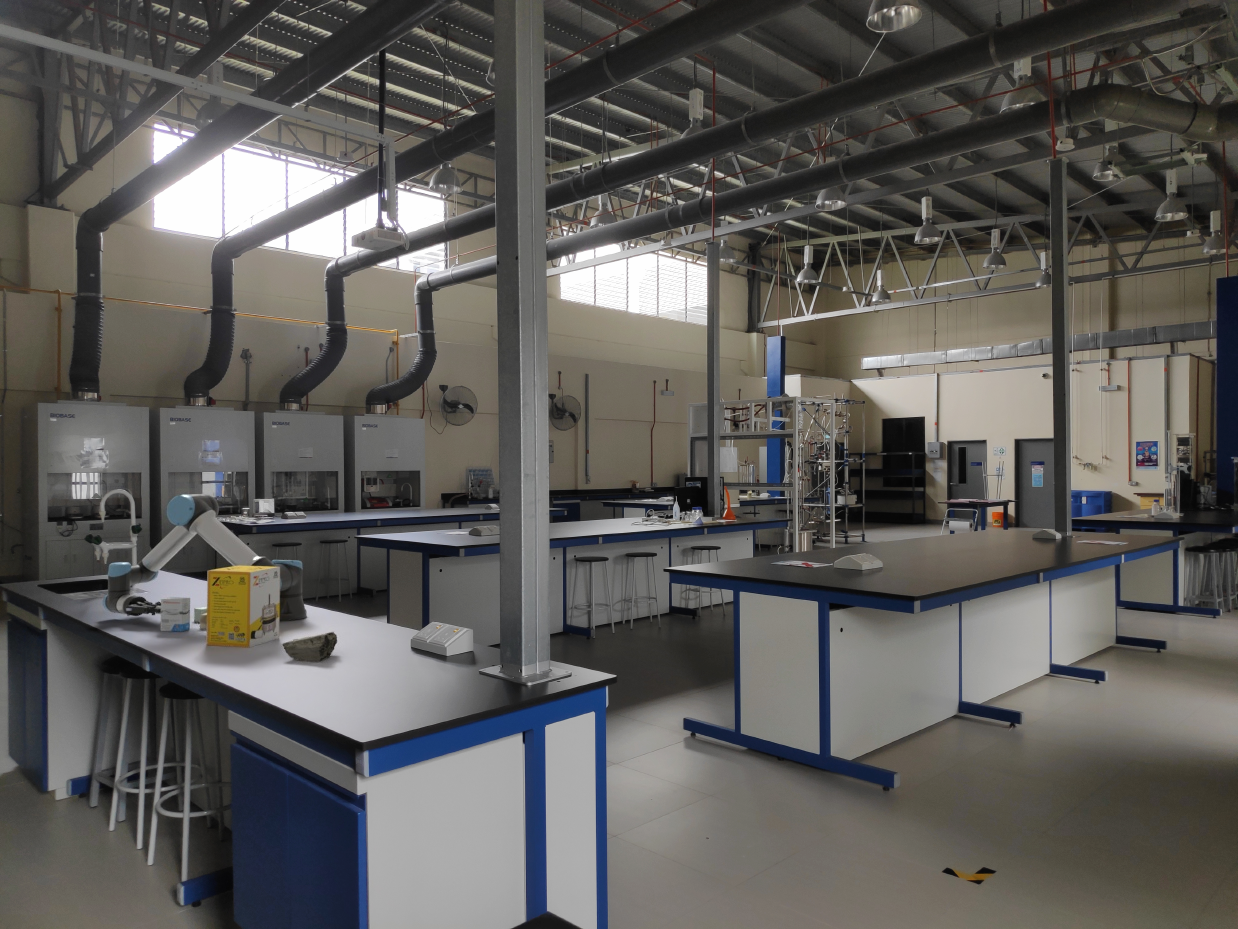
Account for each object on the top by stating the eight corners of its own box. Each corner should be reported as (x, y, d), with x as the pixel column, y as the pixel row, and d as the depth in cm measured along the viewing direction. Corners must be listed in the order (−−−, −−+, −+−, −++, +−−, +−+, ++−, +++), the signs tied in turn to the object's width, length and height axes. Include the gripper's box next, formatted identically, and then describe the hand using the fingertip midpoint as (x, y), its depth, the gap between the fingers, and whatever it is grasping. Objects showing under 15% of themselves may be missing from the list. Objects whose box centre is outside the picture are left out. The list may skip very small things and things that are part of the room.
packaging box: (238, 635, 287) (239, 565, 288) (279, 638, 284) (280, 566, 284) (206, 645, 271) (207, 570, 272) (249, 647, 268) (250, 572, 268)
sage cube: (213, 620, 316) (213, 607, 316) (201, 622, 312) (201, 609, 312) (206, 619, 319) (206, 606, 319) (194, 621, 315) (194, 608, 315)
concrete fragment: (275, 654, 248) (295, 619, 260) (293, 677, 253) (312, 641, 266) (316, 645, 244) (334, 611, 257) (333, 669, 250) (350, 633, 262)
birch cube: (220, 626, 305) (220, 613, 305) (213, 628, 300) (213, 615, 300) (207, 626, 305) (207, 612, 305) (199, 628, 300) (200, 615, 300)
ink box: (190, 629, 298) (191, 597, 298) (182, 631, 293) (182, 599, 293) (168, 628, 299) (169, 596, 299) (159, 631, 294) (160, 598, 294)
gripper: (149, 612, 316) (184, 618, 304) (114, 617, 305) (149, 624, 293) (149, 593, 316) (185, 598, 304) (115, 597, 305) (150, 603, 293)
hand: (167, 611), depth 298 cm, fingers closed
